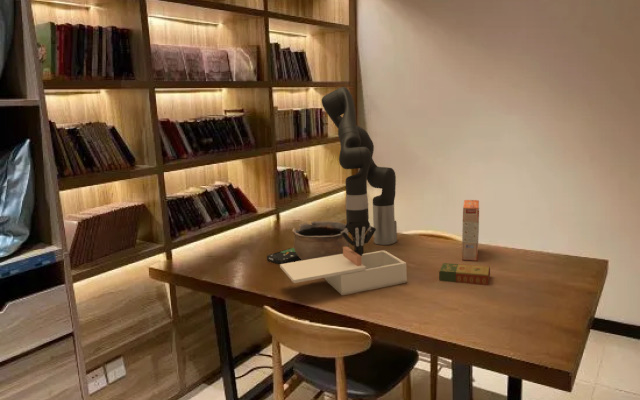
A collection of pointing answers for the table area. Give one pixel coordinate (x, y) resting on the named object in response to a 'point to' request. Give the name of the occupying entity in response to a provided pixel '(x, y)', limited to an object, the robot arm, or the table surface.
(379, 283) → the box
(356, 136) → the robot arm
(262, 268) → the table surface
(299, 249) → the ceramic bowl
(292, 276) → the lid
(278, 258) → the disk drive
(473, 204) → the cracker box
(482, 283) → the carton
